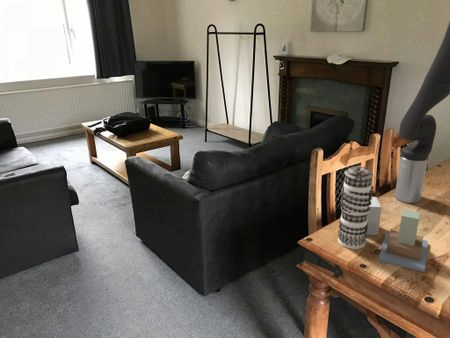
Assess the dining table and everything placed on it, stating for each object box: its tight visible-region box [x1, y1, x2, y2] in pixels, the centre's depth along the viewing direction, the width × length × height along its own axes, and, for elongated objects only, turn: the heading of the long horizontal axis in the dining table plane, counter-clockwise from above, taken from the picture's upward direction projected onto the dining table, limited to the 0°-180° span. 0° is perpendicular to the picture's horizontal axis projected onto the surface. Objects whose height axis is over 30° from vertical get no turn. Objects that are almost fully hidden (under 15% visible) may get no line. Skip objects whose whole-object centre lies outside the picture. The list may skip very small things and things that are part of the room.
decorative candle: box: [337, 165, 374, 250], centre depth 112 cm, size 9×9×25 cm
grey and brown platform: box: [378, 229, 428, 273], centre depth 109 cm, size 16×12×4 cm
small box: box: [366, 196, 382, 236], centre depth 121 cm, size 8×6×10 cm
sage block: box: [397, 208, 421, 246], centre depth 107 cm, size 4×4×9 cm
